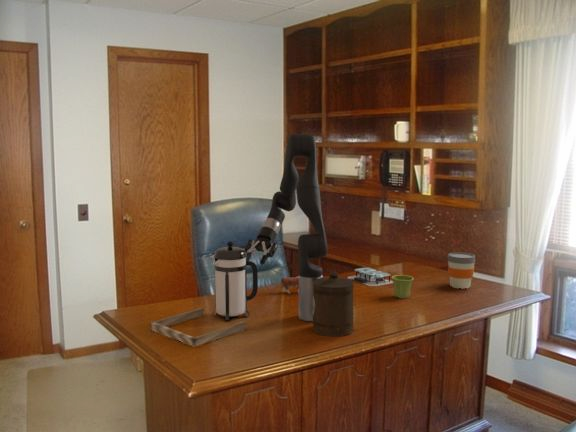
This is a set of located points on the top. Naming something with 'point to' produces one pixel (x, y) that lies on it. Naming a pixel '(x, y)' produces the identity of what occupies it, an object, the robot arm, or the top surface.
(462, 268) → the reusable coffee cup
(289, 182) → the robot arm
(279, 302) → the top surface
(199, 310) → the birch stand
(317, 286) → the wooden container
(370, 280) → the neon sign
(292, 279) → the bull figurine
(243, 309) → the coffee press
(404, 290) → the plant pot
